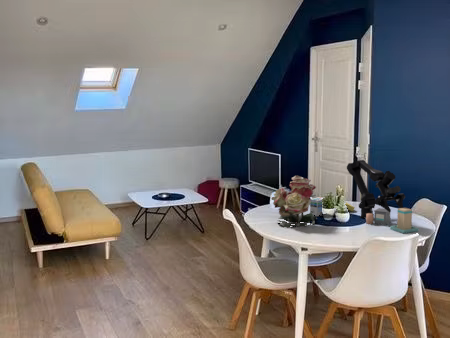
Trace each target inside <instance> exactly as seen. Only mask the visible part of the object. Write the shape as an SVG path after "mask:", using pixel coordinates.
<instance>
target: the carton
mask: <svg viewBox="0 0 450 338" xmlns="http://www.w3.org/2000/svg"><path fill="white" fill-rule="evenodd" d="M412 218H413V209H411V208H408V207H403V208H399V207H398V208H397V222H396V223H397V224H396V225H397V228H399V229H402V230H408V229H411V226H412V225H413V224H412V223H413V222H412V221H413V219H412Z"/></svg>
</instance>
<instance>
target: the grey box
mask: <svg viewBox="0 0 450 338" xmlns="http://www.w3.org/2000/svg"><path fill="white" fill-rule="evenodd" d="M390 210H392V209H391V208H390ZM373 213H374V224H375V225H380V226H381V225H382V226H387V225H388V224H390V223H391V212H389V211H387V210H386V209H384V208H383V207H378V208H377V209H375V210H373ZM374 224H373V225H374Z"/></svg>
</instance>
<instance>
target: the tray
mask: <svg viewBox="0 0 450 338" xmlns="http://www.w3.org/2000/svg"><path fill="white" fill-rule="evenodd" d="M419 229H420V228H419V227H416V226H411V229H408V230H402V229H399V228H397V224H396V225H390V227H389V230H392V231H395V232H397V233H400V234H409V233H417V232H419Z"/></svg>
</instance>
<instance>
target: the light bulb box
mask: <svg viewBox="0 0 450 338" xmlns="http://www.w3.org/2000/svg"><path fill="white" fill-rule="evenodd" d="M323 198H324V197H322V196H319V197H318V196H317V197H315V198H314V197H312V198H311V203H310V205H309V213H312V212H313V213H312V214H314V215H315V216H316V217H320V216H323V215H322V199H323ZM319 215H320V216H319Z"/></svg>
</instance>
